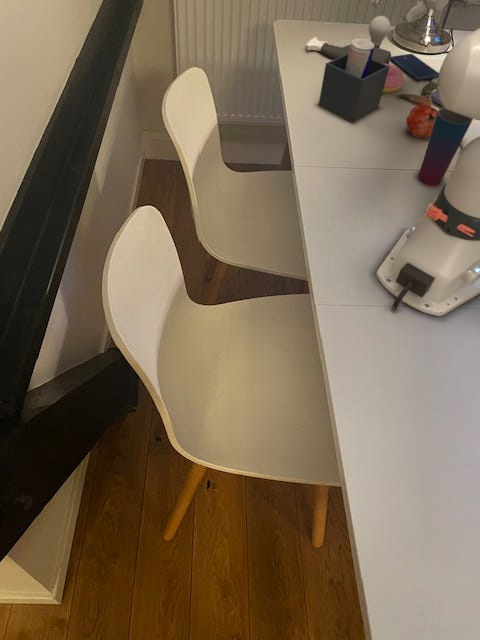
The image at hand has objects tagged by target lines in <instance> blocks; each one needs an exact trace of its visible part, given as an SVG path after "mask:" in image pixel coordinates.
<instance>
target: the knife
mask: <svg viewBox="0 0 480 640" xmlns="http://www.w3.org/2000/svg"><path fill="white" fill-rule="evenodd" d="M435 88H438V77H433V78H432V79H431V80H430V81H429V82H428V83H427V84H426V85H425V86H424V87H423V89H422V91H421V94H420V96H423V97H426V98H428V97H431V94H432V93H433V90H434V89H435Z"/></svg>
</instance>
